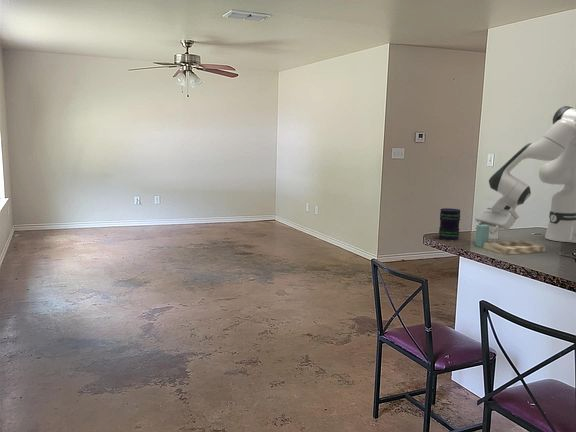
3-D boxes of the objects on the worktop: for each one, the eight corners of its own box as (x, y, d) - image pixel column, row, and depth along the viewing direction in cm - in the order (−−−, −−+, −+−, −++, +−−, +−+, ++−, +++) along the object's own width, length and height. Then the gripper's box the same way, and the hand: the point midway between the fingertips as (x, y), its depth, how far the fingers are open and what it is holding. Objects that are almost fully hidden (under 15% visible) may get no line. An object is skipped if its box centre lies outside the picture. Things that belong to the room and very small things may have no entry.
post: (482, 245, 238) (483, 224, 236) (487, 246, 234) (489, 226, 233) (475, 245, 237) (476, 225, 235) (480, 247, 233) (482, 226, 231)
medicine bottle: (498, 239, 252) (500, 216, 250) (483, 238, 253) (485, 215, 251) (495, 236, 259) (497, 214, 257) (481, 236, 260) (482, 213, 258)
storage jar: (447, 241, 247) (448, 211, 244) (434, 237, 256) (436, 208, 253) (463, 239, 250) (464, 210, 248) (450, 236, 259) (451, 207, 257)
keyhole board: (521, 245, 238) (522, 240, 237) (544, 251, 225) (545, 246, 224) (483, 248, 231) (484, 242, 231) (505, 254, 218) (505, 249, 218)
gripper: (483, 203, 245) (465, 223, 243) (515, 208, 226) (496, 230, 224) (489, 211, 247) (472, 232, 245) (521, 217, 228) (503, 239, 226)
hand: (484, 231), depth 234 cm, fingers open, 8 cm apart
